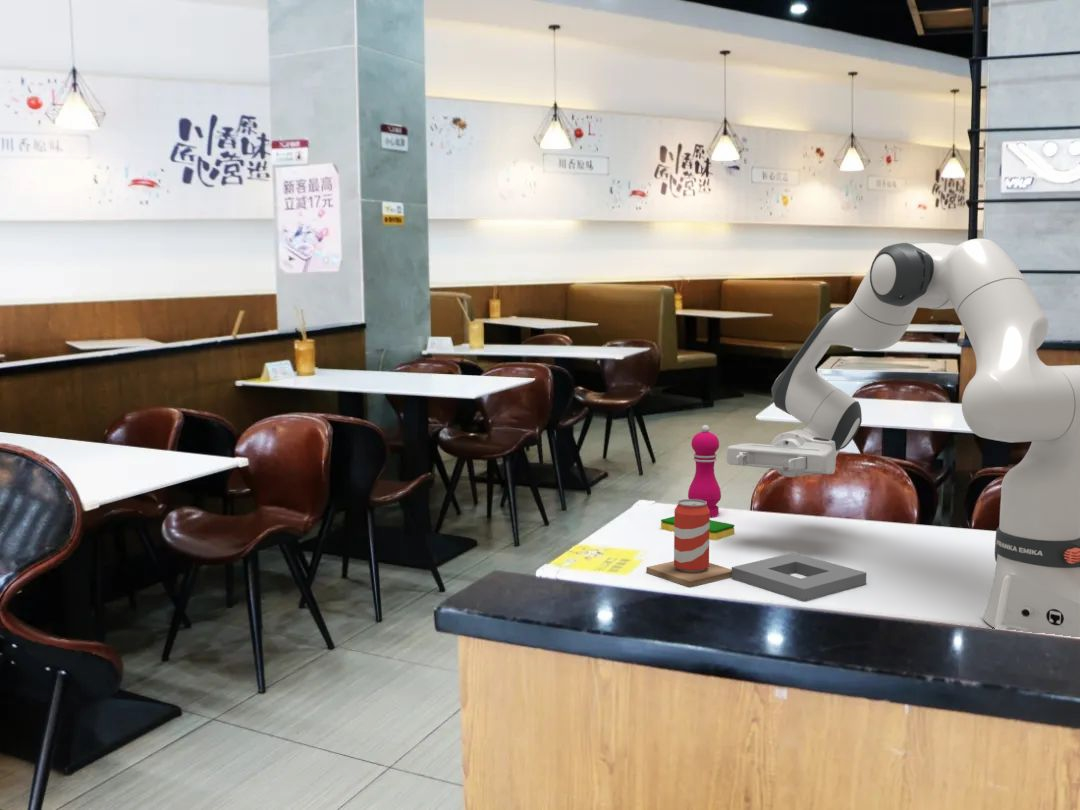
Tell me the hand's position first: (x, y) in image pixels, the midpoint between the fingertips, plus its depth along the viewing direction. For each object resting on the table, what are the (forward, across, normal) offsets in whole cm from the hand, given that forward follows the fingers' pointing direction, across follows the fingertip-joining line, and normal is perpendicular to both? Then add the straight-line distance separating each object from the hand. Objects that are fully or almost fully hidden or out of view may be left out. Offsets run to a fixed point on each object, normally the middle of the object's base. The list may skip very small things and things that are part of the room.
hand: (762, 462), depth 191 cm
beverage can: (+17, -6, +17) cm, 25 cm away
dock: (+10, +11, +18) cm, 24 cm away
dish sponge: (-11, -20, +18) cm, 29 cm away
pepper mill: (-26, -26, +17) cm, 40 cm away
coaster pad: (+17, -6, +18) cm, 26 cm away
